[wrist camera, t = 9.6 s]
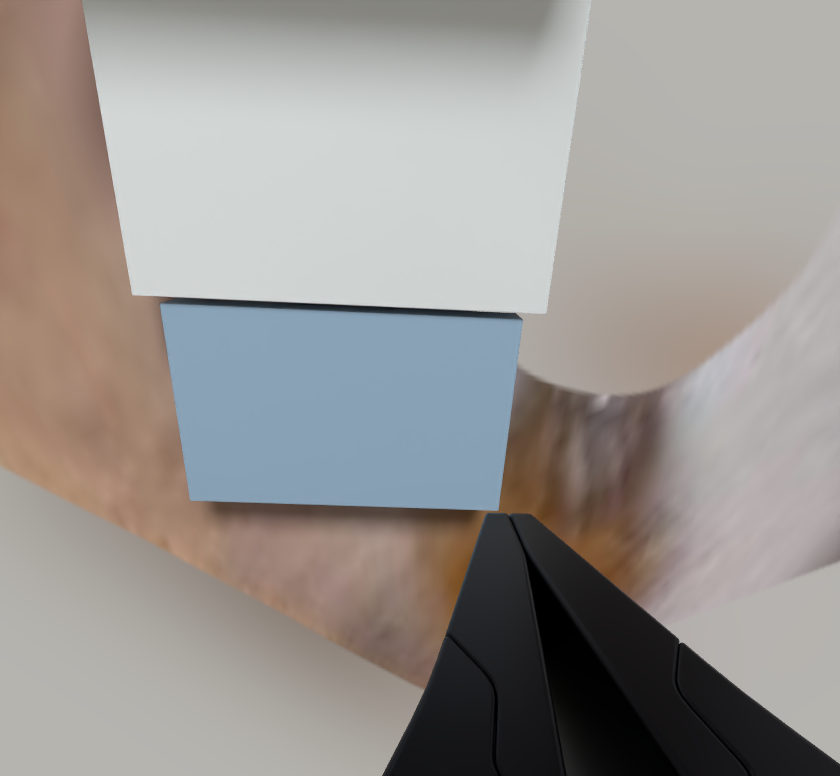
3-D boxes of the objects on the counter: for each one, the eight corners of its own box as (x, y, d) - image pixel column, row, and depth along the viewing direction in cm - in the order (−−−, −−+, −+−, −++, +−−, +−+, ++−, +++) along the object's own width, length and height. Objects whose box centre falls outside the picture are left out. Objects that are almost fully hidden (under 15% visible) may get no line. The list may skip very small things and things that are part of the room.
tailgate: (510, 308, 18) (489, 481, 21) (190, 293, 17) (213, 472, 20) (523, 319, 16) (498, 510, 19) (159, 303, 15) (190, 500, 18)
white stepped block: (525, 300, 18) (604, 353, 11) (176, 283, 18) (3, 327, 10) (585, -170, 13) (805, -673, 6) (110, -207, 13) (-306, -796, 5)
